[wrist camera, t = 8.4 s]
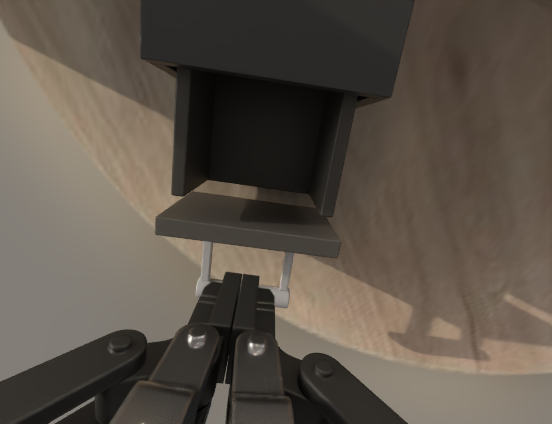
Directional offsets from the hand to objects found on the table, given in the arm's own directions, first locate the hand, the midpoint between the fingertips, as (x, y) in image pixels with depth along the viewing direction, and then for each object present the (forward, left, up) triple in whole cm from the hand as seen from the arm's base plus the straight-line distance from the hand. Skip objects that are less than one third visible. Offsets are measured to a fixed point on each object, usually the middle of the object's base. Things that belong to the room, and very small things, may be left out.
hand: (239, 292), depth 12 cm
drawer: (0, +4, -13) cm, 14 cm away
